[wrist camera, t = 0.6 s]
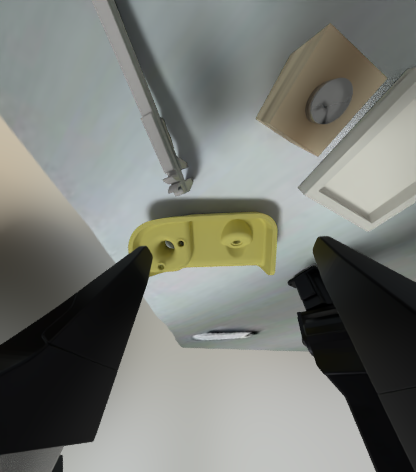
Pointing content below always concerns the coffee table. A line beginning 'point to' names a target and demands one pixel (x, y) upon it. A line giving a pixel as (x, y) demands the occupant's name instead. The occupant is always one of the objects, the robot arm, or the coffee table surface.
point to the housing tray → (372, 162)
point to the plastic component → (209, 241)
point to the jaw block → (320, 91)
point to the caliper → (143, 97)
